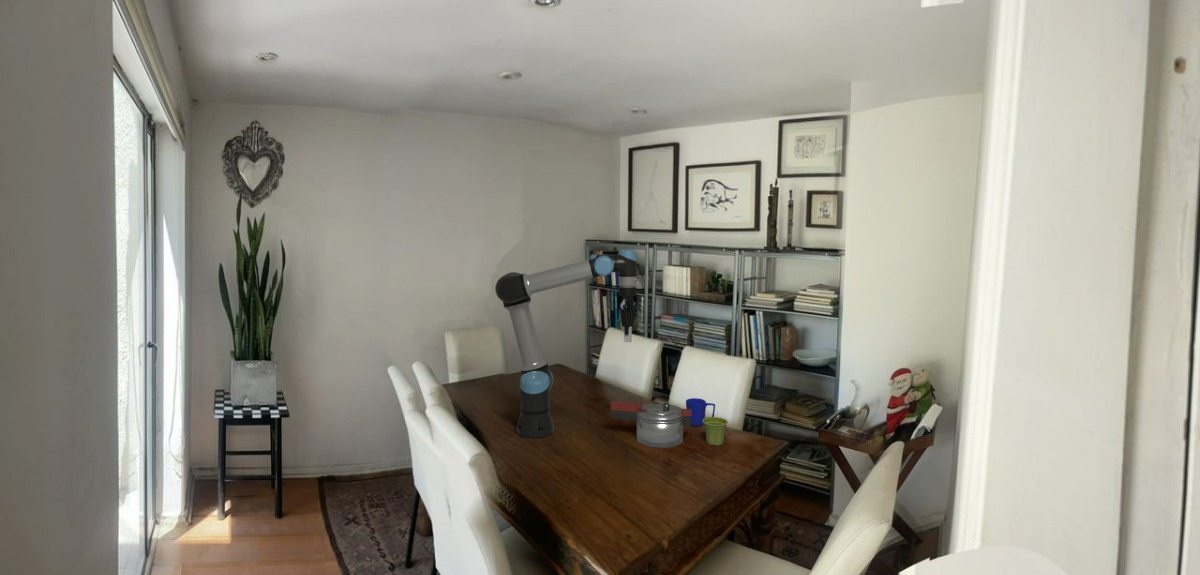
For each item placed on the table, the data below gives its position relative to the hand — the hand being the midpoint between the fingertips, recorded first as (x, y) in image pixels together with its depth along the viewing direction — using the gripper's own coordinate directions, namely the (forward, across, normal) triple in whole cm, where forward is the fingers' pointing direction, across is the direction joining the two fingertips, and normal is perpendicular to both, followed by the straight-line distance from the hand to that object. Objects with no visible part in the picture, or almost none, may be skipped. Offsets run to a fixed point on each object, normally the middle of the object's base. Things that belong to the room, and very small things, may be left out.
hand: (627, 341), depth 244 cm
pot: (+34, -16, -16) cm, 41 cm away
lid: (+24, -16, -16) cm, 33 cm away
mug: (+34, +8, -29) cm, 46 cm away
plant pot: (+35, -10, -40) cm, 54 cm away
